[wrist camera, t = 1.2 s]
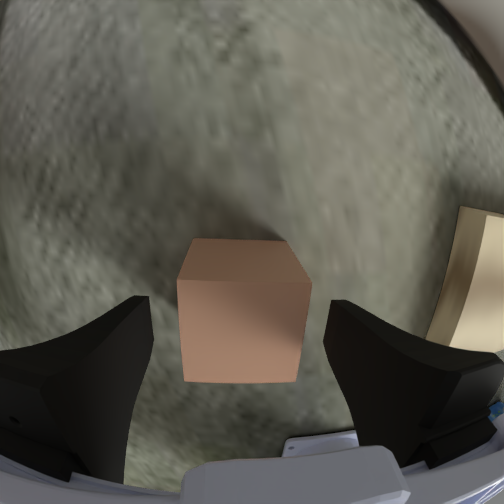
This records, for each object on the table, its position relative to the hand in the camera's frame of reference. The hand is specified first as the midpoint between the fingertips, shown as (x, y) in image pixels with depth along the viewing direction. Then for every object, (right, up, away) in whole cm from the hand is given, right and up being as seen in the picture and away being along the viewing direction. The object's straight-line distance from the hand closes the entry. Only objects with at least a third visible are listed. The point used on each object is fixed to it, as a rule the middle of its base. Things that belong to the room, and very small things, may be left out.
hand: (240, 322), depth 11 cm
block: (0, +1, +4) cm, 4 cm away
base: (+18, +1, +5) cm, 18 cm away
